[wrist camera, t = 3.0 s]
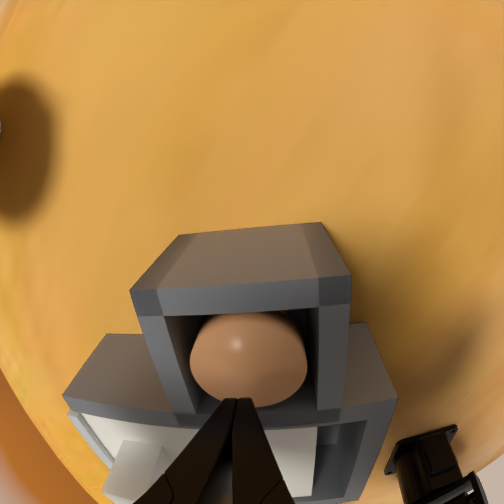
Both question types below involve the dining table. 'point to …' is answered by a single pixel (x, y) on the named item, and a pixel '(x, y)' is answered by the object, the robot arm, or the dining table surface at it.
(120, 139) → the dining table surface
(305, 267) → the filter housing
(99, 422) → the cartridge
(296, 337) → the tan rounded piece
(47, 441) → the dining table surface
